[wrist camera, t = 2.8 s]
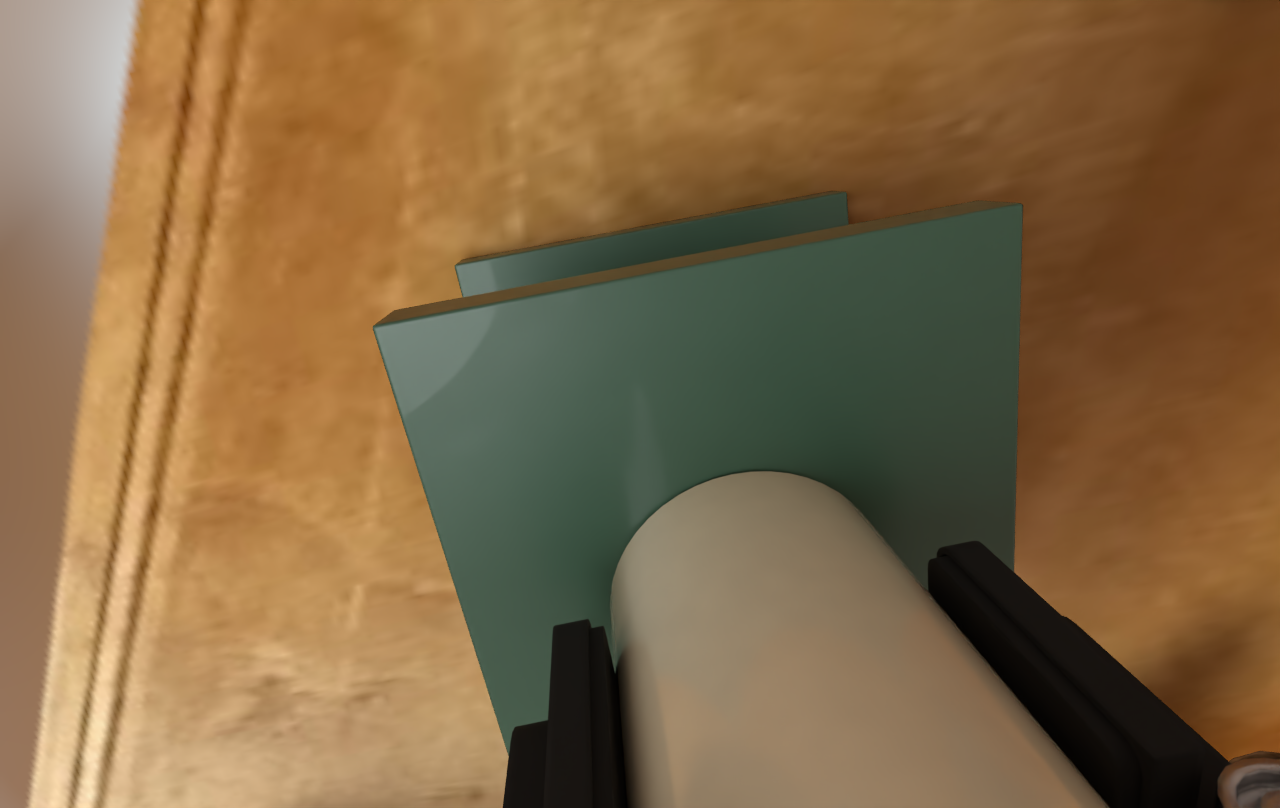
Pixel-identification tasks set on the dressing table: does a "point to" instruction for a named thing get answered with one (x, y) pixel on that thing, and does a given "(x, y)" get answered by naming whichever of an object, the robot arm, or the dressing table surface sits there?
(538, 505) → the stand
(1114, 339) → the dressing table surface
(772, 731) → the cream cylinder
